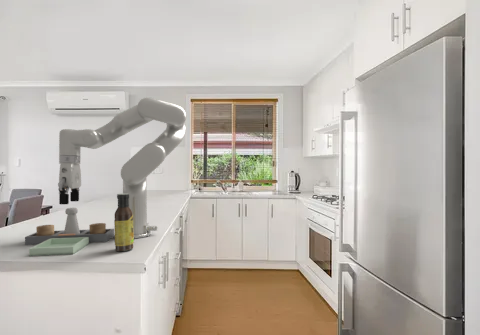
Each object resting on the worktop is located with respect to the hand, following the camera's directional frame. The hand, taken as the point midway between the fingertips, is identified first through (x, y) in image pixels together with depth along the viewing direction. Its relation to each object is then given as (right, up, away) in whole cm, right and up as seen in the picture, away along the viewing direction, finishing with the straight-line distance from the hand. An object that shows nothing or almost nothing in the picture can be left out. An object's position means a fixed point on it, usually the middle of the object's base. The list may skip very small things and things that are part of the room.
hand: (69, 202), depth 124 cm
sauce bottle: (+28, -15, -15) cm, 35 cm away
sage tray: (+4, -15, -13) cm, 21 cm away
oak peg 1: (-9, -15, -1) cm, 18 cm away
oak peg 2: (+11, -15, +1) cm, 19 cm away
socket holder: (+1, -15, 0) cm, 15 cm away
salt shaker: (+1, -15, 0) cm, 15 cm away
